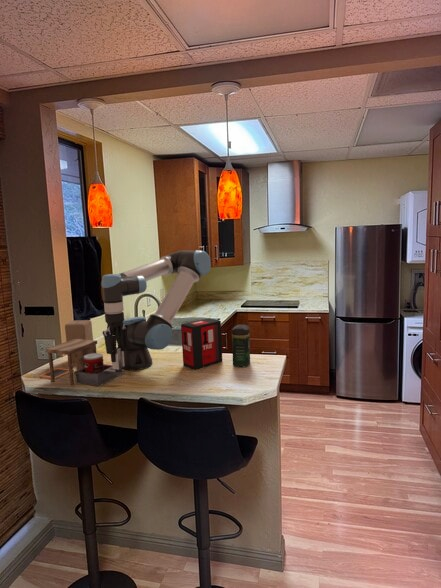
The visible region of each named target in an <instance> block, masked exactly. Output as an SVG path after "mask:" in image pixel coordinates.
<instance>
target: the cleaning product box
mask: <svg viewBox="0 0 441 588" xmlns="http://www.w3.org/2000/svg"><path fill="white" fill-rule="evenodd" d="M180 331H181V345H182V346H181V348H182V350H181V351H182V362H183V363H182V365H183V367H185V368H187V369H190V370H193V371H197V370H200V369H204V368H207V367H211V366H214V365H216V364H219V363H223V344H222V343H223V342H222V341H223V339H222V321H221V320H218V319H214V318H209V317H207V318H204V319H200V320H195V321H190V322H186V323H181V324H180Z"/></svg>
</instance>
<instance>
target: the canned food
mask: <svg viewBox="0 0 441 588" xmlns="http://www.w3.org/2000/svg"><path fill="white" fill-rule="evenodd" d="M104 364H105V363H104V356H103V353H100V352H97V353H92V354H87V355H85V356H84V368H85V372H88V373H96V374H98V373H100V372H102V371H104Z"/></svg>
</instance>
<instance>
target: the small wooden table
mask: <svg viewBox="0 0 441 588" xmlns="http://www.w3.org/2000/svg"><path fill="white" fill-rule="evenodd" d="M97 345H98V340H94V339H93V340H83V339H73V340H70V341H67V342H66V341H65V342H61V343H59V344H56V345H53V346H50V347H47V348H46V349H45V352H46V353H47V355H48V356H47V357H48V363H49V371H50V375H51V379H50V383H52V384H53V383H55V382H56V380H55V376H54V369H55V368H54V357H53V354H55V355H56V354H58V355H67V363H68V369H69V374H68V375H69V382H70V383H69V385H70V386H74V385H75V376H74V372H73V370H74V368H73V363H72V355H71V354H73V353H75V362H76V363H75V369H76V371H78V370H80V369H83V368H84V356H85V355H87V354H92V353H98V352H97ZM76 371H75V372H76Z"/></svg>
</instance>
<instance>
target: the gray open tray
mask: <svg viewBox="0 0 441 588" xmlns="http://www.w3.org/2000/svg"><path fill="white" fill-rule="evenodd" d="M116 354H118V363H119V369H112V364H108V363H107V364H105V363H104V371H102V372H100V373H98V374H96V373H88V372H85V368H83V369H80V370H78V371H74V373H75V383H76V384H80V385H88V386H94V387H100V386H102V385H104V384H106V383H108V382H110V381H111V380H114V379H115V378H117V377H123V376H125V370H124V369H122V357H121V348H120V347H118V346H116Z"/></svg>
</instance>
